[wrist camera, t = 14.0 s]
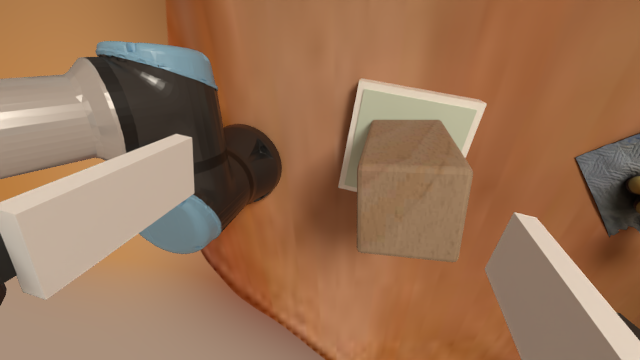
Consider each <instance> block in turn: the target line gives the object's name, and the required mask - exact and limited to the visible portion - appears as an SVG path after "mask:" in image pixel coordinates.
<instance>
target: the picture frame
mask: <svg viewBox="0 0 640 360" xmlns="http://www.w3.org/2000/svg"><path fill="white" fill-rule="evenodd" d="M486 105H487V104H486V103H484V102H483V101H481V100H478V99H472V98H467V97H461V96H456V95H451V94H445V93H440V92H434V91H429V90H423V89H418V88H412V87H407V86H401V85H396V84H390V83H385V82H379V81H374V80H368V79H363V78H362V79H360V80H359V84H358V90H357V95H356V100H355V105H354V110H353V115H352V120H351V125H350V130H349V135H348V140H347V145H346V150H345V155H344V160H343V165H342V170H341V175H340V181H339V186H338V188H342V189H346V190H350V191H354V192H357V167H358V164H359V161H360V157H361V154H362V151H363V148H364V145H365V142H366V138H367V135H368V132H369V129H370V126H371V123H372V121H373V120H440V121H441V122H442V123H443V125H444V126H445V128H446V129H447V131H448V132H449V134H450V136H451V137H452V139H453V140H454V142H455V143H456V145H457V146H458V148H459V150H460V151H461V153H462V154H463V156H464V157H465V158H466V155H467V153H468V150H469V148H470V145H471V143H472V140H473V138H474V135H475V133H476V130H477V127H478V125H479V122H480V120H481V117H482V115H483V112H484V110H485V107H486Z"/></svg>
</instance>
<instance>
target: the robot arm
mask: <svg viewBox="0 0 640 360" xmlns="http://www.w3.org/2000/svg"><path fill="white" fill-rule="evenodd" d="M96 54H97V56H99V57H83V58H78V59H77V60H76V62H75V63H74V64H73V66H72V67H71V68H70V70H69V71H68V72H67V73H65V74H64V75H53V76H37V77H24V78H9V79H0V179H3V178H7V177H12V176H16V175H20V174H25V173H29V172H34V171H38V170H42V169H47V168H51V167H56V166H60V165H64V164H69V163H73V162H78V161H82V160H86V159H91V158H95V157H96V158H101V159H103V160H106V161H105V162H102V163H100V164H98V165H95V166H92V167H90V168H87V169H84V170H82V171H79V172H77V173H74V174H72V175H69V176H67V177H64V178H61V179H59V180H57V181H54V182H51V183H48V184H46V185H43V186H41V187H38V188H36V189H33V190H30V191H28V192H25V193H23V194H20V195H18V196H15V197H12V198H10V199H7V200H5V201H2V202H0V305H1V303H2V301H3V299H4V297H5V295H6V287H5V284H4V282H6V281H8V280H9V279H11V278H13V277H14V276H17V278H18V281H19V284H20V286H21V289H22V291H23V292H24V293H27V294H30V295H33V296H36V297H39V298H42V299H45V300H47V299H48V298H50V297H51V296H52V295H54V294H55V293H56V292H58V291H59V290H61V289H62V288H63V287H65V286H66V285H68V284H69V283H70V282H72V281H73V280H74V279H76V278H77V277H78V276H80V275H81V274H83V273H84V272H86V271H87V270H88V269H90V268H91V267H93V266H94V265H95V264H97V263H98V262H100V261H101V260H102V259H104V258H105V257H106V256H108V255H109V254H111V253H112V252H113V251H115V250H116V249H118V248H119V247H120V246H122V245H123V244H125V243H126V242H127V241H129V240H130V239H131V238H133V237H134V236H136V235H137V234H138V233H139V234H140V235H141V236H142V237H144V238H145V239H146V240H148V241H149V242H151V243H152V244H154V245H155V246H157V247H159V248H161V249H163V250H166V251H169V252H173V253H179V254H188V253H194V252H197V251H199V250H201V249H203V248H204V247H205V246H206V245H208V244H209V243H210V242H211V241H212V240H214V239H216V238H217V237H218V236H219V235H220V233H221V232H222V231H223V230H224V229H225V228H226V227H227V225H228V224H229V223H230V222H231V221H232V220H233V219H234V218H235V217H236V215H237V214H238V213H239V212H240V211H241V210H242V209H243V208H244V207H245V206H246V205H247V204H250V203H253V202H256V201H259V200H261V199H263V198H265V197H266V196H267V195H269V194H270V193H271V192H272V190H273V189H274V188H275V187H276V185H277V184H278V182H279V180H280V177H281V170H282V166H281V159H280V156H279V153H278V151H277V149H276V147H275V145H274V144H273V143H272V141H271V140H270V139H269V138H268V137H267V136H266V135H265V134H264V133H262V132H261V131H259V130H258V129H256V128H254V127H251V126H248V125H243V124H234V125H229V126H226V127H224V128H223V123H222V117H221V112H220V106H219V100H218V94H217V91H218V87H217V86H216V85H215V80H214V76H213V72H212V67H211V63H210V61H209V59H208V58H207V57H206V56H205V55H204V54H202V53H201V52H199V51H196V50H193V49H188V48H183V47H176V46H169V45H160V44H150V43H132V42H121V41H119V42H118V41H105V42H100V43H98V44H97V49H96ZM485 271H486V274H487V276H488V279H489V281H490V284H491V286H492V288H493V291H494V293H495V296H496V298H497V301H498V303H499V306H500V308H501V311H502V313H503V315H504V318H505V320H506V323H507V325H508V328H509V330H510V333H511V335H512V338H513V340H514V342H515V345H516V347H517V350H518V352H519V355H520V357H521V360H640V329H639V328H637V327H636V326H635V325H634V324H632V323H631V322H630V321H629V320H628V319H626V318H625V317H624V316H623V315H621V314H620V313H617V312H615V311H614V310H613V308H612V307H611V306H610V305H609V304H608V302H607V301H606V300H605V299H604V298H603V296H602V295H601V294H600V293H599V292H598V291H597V289H596V288H595V287H594V286H593V285H592V283H591V282H590V281H589V280H588V279H587V277H586V276H585V275H584V274H583V273H582V271H581V270H580V269H579V268H578V267H577V265H576V264H575V263H574V262H573V261H572V260H571V258H570V257H569V256H568V255H567V254H566V252H565V251H564V250H563V249H562V248H561V246H560V245H559V244H558V243H557V242H556V240H555V239H554V238H553V237H552V236H551V234H550V233H549V232H548V231H547V230H546V229H545V227H544V226H543V225H542V224H541V223H540V221H539V220H538V219H537V218H536V217H532V216H528V215H524V214H519V213H515V212H514V213H513V215H512V217H511V219H510V221H509V223H508V225H507V227H506V229H505V231H504V232H503V234H502V236H501V238H500V240H499V242H498V244H497V246H496V248H495V250H494V252H493V254H492V256H491V258H490V260H489V261H488V263H487V265H486V267H485Z"/></svg>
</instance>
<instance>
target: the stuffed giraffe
mask: <svg viewBox="0 0 640 360" xmlns="http://www.w3.org/2000/svg"><path fill="white" fill-rule="evenodd" d="M576 160H577V162H578V164H579V166H580V168H581V170H582V173H583V175H584V177H585V179H586V182H587V184H588V186H589V188H590V190H591V193H592V195H593V197H594V199H595V201H596V204H597V206H598V209H599V211H600V214H601V216H602V219H603V221H604V224H605V227H606V229H607V232H608V235H609V237H610V235H615V234H616V233H618V232H619V231H618V229H623V230H627V227H628V226H630V227H634V226H635V227H634V228H636V229H637V230H638V231H639V233H640V134H638V135H634V136H632V137H629V138H626V139H624V140H621V141H618V142H616V143H613V144H608V145H606V146H603V147H601V148H599V149H597V150H594V151H591V152H588V153H585V154H583V155H580V156H578V157H576Z"/></svg>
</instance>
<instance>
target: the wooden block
mask: <svg viewBox="0 0 640 360" xmlns="http://www.w3.org/2000/svg"><path fill="white" fill-rule="evenodd" d="M472 177H473V171H472V168H471V167H470V165H469V164H468V162H467V160H466V159H465V157H464V156H463V154H462V153H461V151H460V150H459V148H458V146H457V145H456V143H455V142H454V140H453V139H452V137H451V136H450V134H449V132H448V131H447V129H446V128H445V126H444V125H443V123H442V122H441V121H440V120H373V121H372V123H371V126H370V129H369V132H368V135H367V138H366V142H365V145H364V148H363V151H362V154H361V157H360V161H359V164H358V167H357V249H358V252H361V253H369V254H379V255H388V256H398V257H407V258H417V259H427V260H436V261H446V262H456V261H457V260H458V258H459V252H460V246H461V240H462V235H463V229H464V223H465V217H466V211H467V206H468V200H469V194H470V188H471V183H472Z"/></svg>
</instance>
